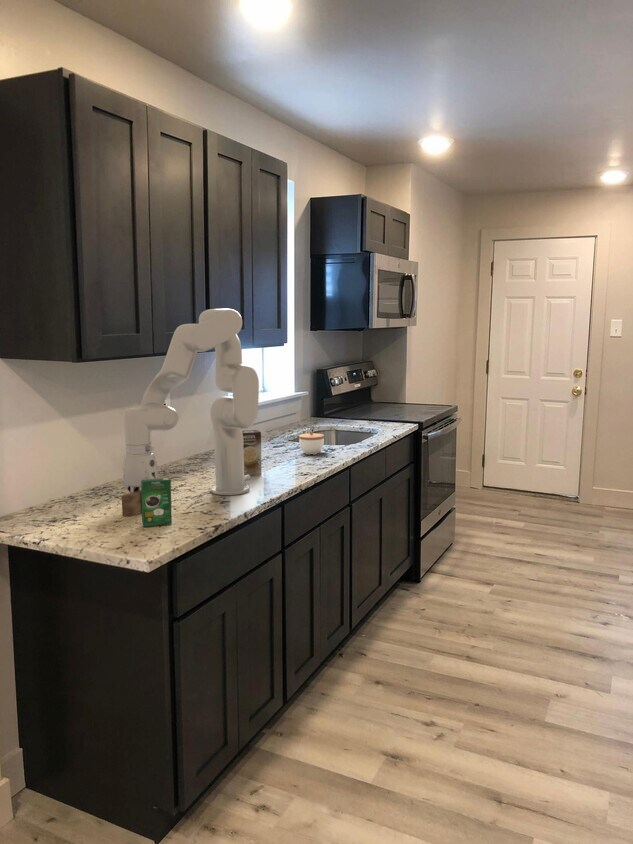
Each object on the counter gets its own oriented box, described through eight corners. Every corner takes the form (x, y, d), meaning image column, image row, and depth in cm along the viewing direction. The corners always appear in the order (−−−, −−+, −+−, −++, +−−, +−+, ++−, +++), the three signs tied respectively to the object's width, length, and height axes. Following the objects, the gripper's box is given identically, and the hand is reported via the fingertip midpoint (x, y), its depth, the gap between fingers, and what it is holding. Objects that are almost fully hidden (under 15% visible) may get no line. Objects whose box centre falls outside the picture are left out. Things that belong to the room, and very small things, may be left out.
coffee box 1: (171, 521, 192) (169, 476, 190) (173, 524, 190) (171, 478, 188) (142, 525, 189) (139, 479, 187) (143, 527, 187) (141, 481, 185)
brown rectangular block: (153, 504, 211) (152, 485, 210) (160, 504, 210) (159, 486, 209) (122, 515, 199) (121, 495, 198) (129, 516, 198) (128, 496, 197)
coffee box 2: (237, 477, 246) (236, 433, 244) (233, 473, 252) (232, 430, 250) (262, 474, 249) (261, 431, 247) (257, 471, 255) (256, 429, 253)
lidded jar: (315, 456, 281) (315, 434, 280) (294, 454, 287) (293, 432, 286) (328, 452, 290) (328, 430, 289) (307, 449, 296) (307, 428, 295)
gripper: (168, 448, 201) (171, 509, 204) (126, 445, 208) (129, 503, 211) (152, 453, 195) (154, 515, 197) (109, 449, 202) (112, 509, 204)
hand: (141, 508), depth 204 cm, fingers closed on brown rectangular block, 2 cm apart
